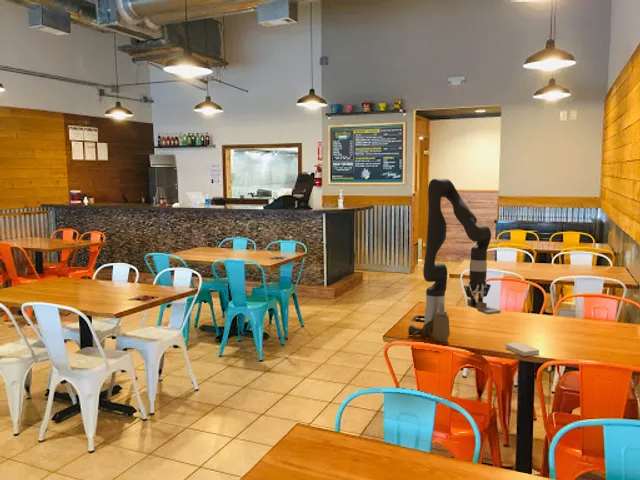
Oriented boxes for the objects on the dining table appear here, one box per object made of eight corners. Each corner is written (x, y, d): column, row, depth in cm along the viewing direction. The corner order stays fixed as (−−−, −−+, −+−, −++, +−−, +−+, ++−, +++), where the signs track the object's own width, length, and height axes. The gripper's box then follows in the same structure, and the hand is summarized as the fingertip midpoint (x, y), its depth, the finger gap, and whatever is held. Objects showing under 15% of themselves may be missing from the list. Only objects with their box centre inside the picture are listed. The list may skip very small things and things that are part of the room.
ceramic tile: (505, 343, 242) (524, 351, 231) (519, 341, 245) (539, 349, 234) (505, 348, 242) (524, 357, 231) (519, 346, 245) (538, 355, 234)
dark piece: (463, 305, 252) (463, 299, 252) (475, 304, 255) (476, 298, 255) (487, 314, 237) (488, 308, 236) (500, 313, 239) (500, 306, 239)
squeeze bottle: (428, 339, 255) (429, 301, 252) (443, 337, 257) (444, 300, 255) (438, 344, 247) (439, 305, 245) (453, 342, 250) (454, 304, 248)
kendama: (440, 333, 266) (422, 342, 250) (422, 330, 272) (403, 339, 256) (440, 321, 266) (422, 329, 250) (422, 318, 271) (404, 326, 255)
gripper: (485, 267, 253) (483, 303, 255) (460, 268, 248) (458, 305, 250) (496, 269, 246) (494, 306, 248) (470, 271, 241) (469, 309, 243)
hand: (476, 305), depth 249 cm, fingers closed on dark piece, 3 cm apart
